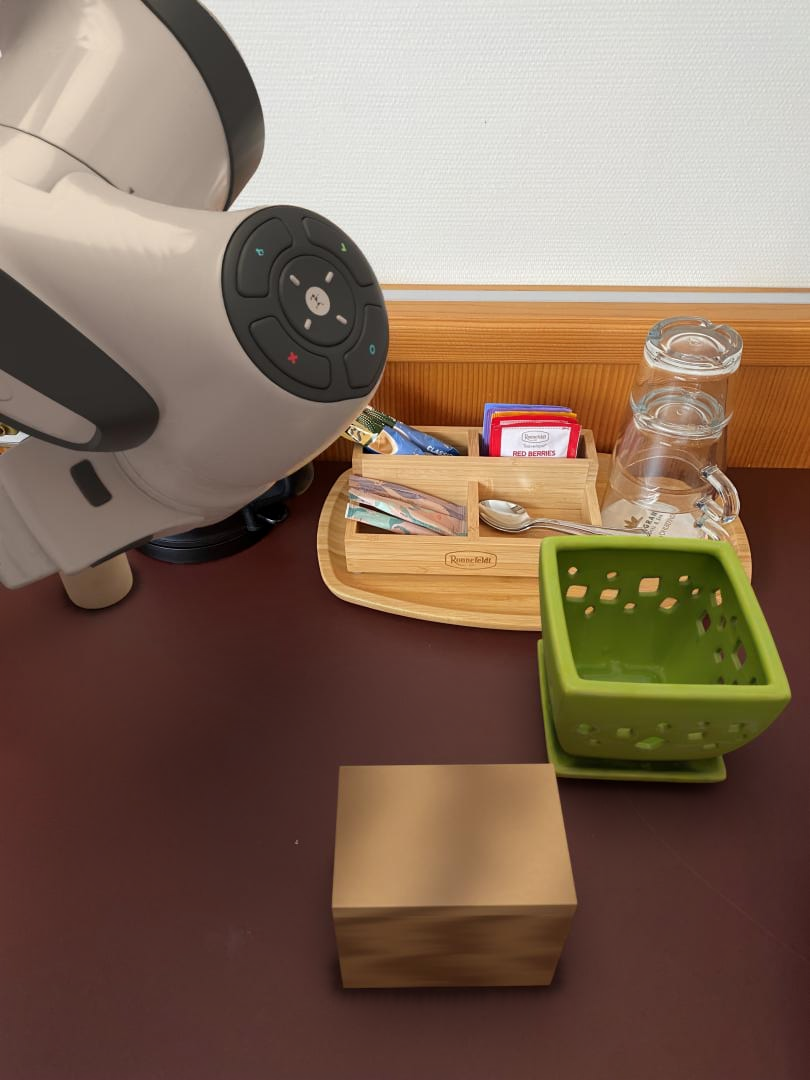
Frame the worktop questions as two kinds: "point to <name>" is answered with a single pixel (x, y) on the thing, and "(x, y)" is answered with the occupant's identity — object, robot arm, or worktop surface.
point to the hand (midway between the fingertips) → (131, 500)
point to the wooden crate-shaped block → (450, 875)
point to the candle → (100, 583)
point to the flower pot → (651, 659)
